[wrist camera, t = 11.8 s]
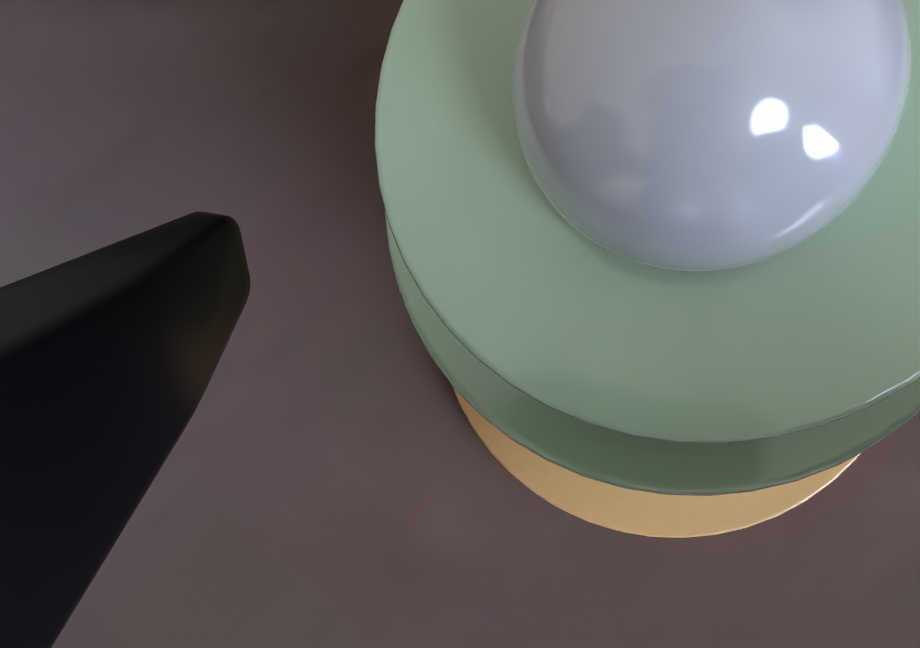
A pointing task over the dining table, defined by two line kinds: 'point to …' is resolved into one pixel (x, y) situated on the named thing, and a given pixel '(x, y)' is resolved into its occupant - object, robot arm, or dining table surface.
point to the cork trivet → (643, 494)
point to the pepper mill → (662, 227)
